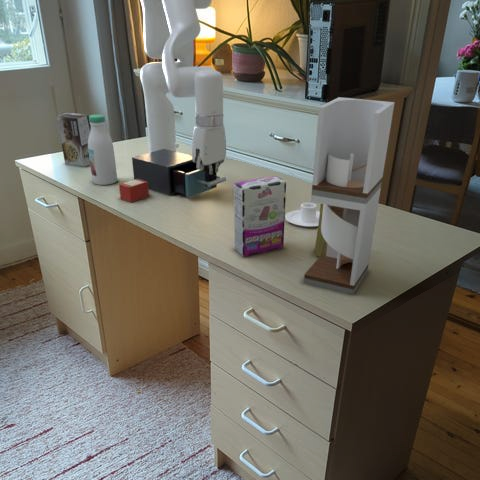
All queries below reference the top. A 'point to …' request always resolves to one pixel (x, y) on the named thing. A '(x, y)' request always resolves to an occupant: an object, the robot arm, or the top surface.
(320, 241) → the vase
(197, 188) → the drawer
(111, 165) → the milk bottle
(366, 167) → the tall two-tier shelf
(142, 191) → the package
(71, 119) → the printed cardboard box
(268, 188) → the candy bar box
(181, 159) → the cabinet
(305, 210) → the candle holder
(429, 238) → the top surface
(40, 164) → the top surface
